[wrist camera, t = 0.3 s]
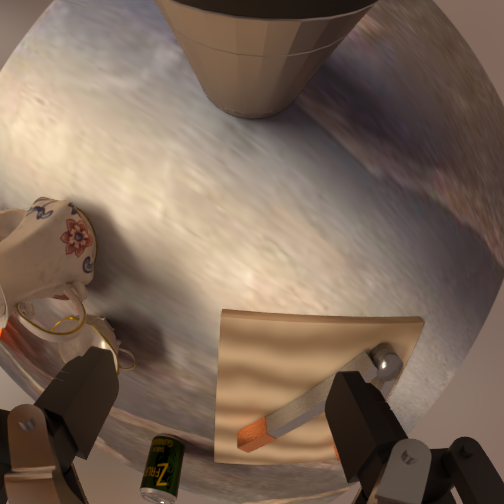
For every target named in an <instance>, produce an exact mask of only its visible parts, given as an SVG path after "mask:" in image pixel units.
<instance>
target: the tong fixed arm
mask: <svg viewBox="0 0 504 504" xmlns="http://www.w3.org/2000/svg"><path fill="white" fill-rule="evenodd" d="M396 382H397V379H396V377H395V378H393V379H391V380H389V381H381V380H379V378H378V376H376V377H374V378H373V379H372V380H371V381H370V383H371V384H372V385H374V386H375V387H376V388H377V389H379V390H380V392H381V393H382V395H383V396H384V398H385V400H387V398H388V396H389V394H390V393H391V391H392V389H393V387H394V385H395V383H396ZM333 448H334V451H335V454H336V458H337V461H340V458H339V455H338V452H337V449H336V446H334V447H333Z"/></svg>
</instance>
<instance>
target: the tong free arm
mask: <svg viewBox="0 0 504 504" xmlns="http://www.w3.org/2000/svg"><path fill="white" fill-rule="evenodd" d="M402 368H403V361H402V360H401V359H400V357H399V356H398V355H397V353H396V352H395V350H394V349H393V348H392V346H391V345H390V344H388V343H382V344H379V345H377V346H376V347H374V348H373V349H372V350H371V352H370V353H369V354H368V353H367V352H366V351H365V350H364V351H363V352H362V353H360V354H359V355H358V356H357V357H355V358H354V359H353V360H352V361H350V362H349V363H348V364H346V365H345V366H344V367H342V368H341V369H340V370H338V371H337V372H339V371H359V372H360V374H361V375H362V377H363V379H364V381H365V382H366V383H368V382H369V381H370V380H372V379H373V378H374V377H376V376H378V378H379V380H381V381H389V380H391V379H393V378H395V377H396V376H397V375H398V374H399V373H400V372H401V370H402ZM337 372H335V373H334V374H333V375H331V376H330V377H328V378H327V379H326V380H324V381H323V382H321V383H320V384H318V385H317V386H315V387H314V388H312V389H311V390H309V391H308V392H306V393H305V394H303V395H302V396H300V397H299V398H297V399H295V400H294V401H292V402H291V403H289V404H287V405H286V406H284V407H282V408H281V409H279V410H277V411H276V412H274V413H272V414H270V415H269V416H267V417H263V418H261V419H259V420H258V421H256V422H254V423H252V424H250V425H248V426H246V427H245V428H243V429H241V430H239V431H237V448H238V449H240V450H242V451H244V452H247V453H249V452H252V451H254V450H256V449H258V448H261V447H263V446H265V445H267V444H269V443H271V442H273V441H275V440H277V438H279V437H281V436H283V435H285V434H287V433H288V432H290V431H292V430H294V429H296V428H298V427H300V426H301V425H303V424H305V423H307V422H308V421H310V420H312V419H313V418H315V417H317V416H318V415H320V414H322V413H323V412H325V402H326V399H327V396H328V394H329V391H330V388H331V385H332V383H333V380H334V377H335V375H336V373H337Z"/></svg>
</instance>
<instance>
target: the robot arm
mask: <svg viewBox="0 0 504 504" xmlns="http://www.w3.org/2000/svg"><path fill="white" fill-rule="evenodd" d="M154 1H155V3H156V4H157V6H158V8H159V10H160V11H161V13H162V15H163V17H164V18H165V20H166V21H167V23H168V25H169V27H170V28H171V30H172V32H173V34H174V36H175V38H176V39H177V41H178V43H179V45H180V47H181V49H182V50H183V52H184V54H185V56H186V58H187V60H188V62H189V63H190V65H191V67H192V69H193V71H194V73H195V75H196V77H197V79H198V81H199V82H200V84H201V86H202V88H203V90H204V92H205V93H206V95H207V97H208V98H209V100H210V101H211V102H212V103H213V104H214V105H215V106H216V107H218V108H219V109H221V110H222V111H224V112H226V113H228V114H231V115H233V116H236V117H242V118H263V117H268V116H271V115H274V114H276V113H279V112H280V111H282V110H283V109H285V108H287V107H288V106H289V105H290V104H291V103H292V102H293V101H294V100H295V98H296V97H297V96H298V95H299V93H300V92H301V91H302V90H303V88H304V87H305V86H306V85H307V83H308V82H309V81H310V80H311V78H312V77H313V76H314V75H315V73H316V72H317V71H318V70H319V68H320V67H321V66H322V65H323V63H324V62H325V61H326V60H327V59H328V57H329V56H330V55H331V54H332V52H333V51H334V50H335V49H336V48H337V47H338V45H339V44H340V43H341V42H342V41H343V39H344V38H345V37H346V36H347V35H348V34H349V33H350V31H351V30H352V29H353V28H354V27H355V25H356V24H357V23H358V22H359V21H360V20H361V18H362V17H363V16H364V15H365V14H366V13H367V12H368V11H369V10H370V9H371V8H372V6H373V5H374V4H375V3H376V2H377V1H378V0H154ZM118 390H119V382H118V377H117V372H116V367H115V362H114V357H113V353H112V351H111V350H108V349H104V348H99V347H95V346H91V347H90V348H89V349H88V350H87V351H86V353H85V354H84V355H83V356H77V357H75V358H74V359H72V360H70V361H68V362H67V363H66V365H65V366H64V367H63V368H62V369H61V372H59V373H58V374H57V376H56V377H55V379H53V380H52V382H51V383H50V384H49V385H48V387H47V388H46V389H45V391H44V392H43V393H42V394H41V396H40V397H39V398H38V400H37V401H36V402H35V403H34V405H31V404H22V405H19V406H17V407H15V408H13V409H12V410H11V411H7V410H2V409H0V504H6V502H7V500H8V502H9V504H89V503H88V501H87V498H86V496H85V494H84V491H83V489H82V486H81V483H80V481H79V478H78V476H77V473H76V470H75V467H74V464H73V459H74V458H75V456H78V457H80V458H83V459H85V460H87V458H88V455H89V453H90V451H91V449H92V447H93V445H94V443H95V440H96V438H97V436H98V434H99V432H100V430H101V428H102V426H103V424H104V422H105V420H106V418H107V416H108V414H109V412H110V410H111V408H112V406H113V404H114V402H115V400H116V398H117V395H118ZM325 416H326V419H327V422H328V425H329V428H330V431H331V434H332V437H333V440H334V443H335V446H336V449H337V452H338V455H339V458H340V461H341V464H342V467H343V470H344V473H345V476H346V479H347V482H348V483H352V482H357V481H360V483H361V487H360V489H359V490H358V492H357V494H356V496H355V498H354V500H353V502H352V504H456V501H455V499H454V497H453V495H452V493H451V491H450V490H451V489H452V488H453V487H454V486H455V487H456V490H457V492H458V494H459V496H460V498H461V500H462V502H463V504H504V483H503V481H502V479H501V477H500V476H499V474H498V473H497V471H496V469H495V468H494V466H493V464H492V463H491V461H490V459H489V458H488V456H487V455H486V453H485V452H484V450H483V449H482V447H481V446H480V444H479V443H478V442H477V441H476V440H474V439H472V438H470V437H460V438H458V439H456V440H455V441H454V442H453V443H452V445H451V446H450V447H449V448H443V449H429V448H428V446H427V445H425V444H424V443H423V442H421V441H419V440H416V439H409V438H408V437H407V435H406V433H405V432H404V430H403V428H402V427H401V425H400V423H399V421H398V420H397V418H396V416H395V415H394V413H393V411H392V410H390V406H389V405H388V403H387V402H386V400H385V398H384V396H383V395H382V393H381V392H380V390H379V389H377V388H376V387H375V386H374V385H372V384H371V383H366V382H365V381H364V379H363V377H362V375H361V374H360V372H359V371H339V372H337V373H336V375H335V377H334V380H333V383H332V385H331V388H330V391H329V394H328V396H327V399H326V402H325Z"/></svg>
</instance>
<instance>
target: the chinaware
mask: <svg viewBox="0 0 504 504" xmlns="http://www.w3.org/2000/svg"><path fill="white" fill-rule="evenodd" d="M96 256H97V240H96V235H95V232H94V229H93V227H92V224H91V222H90V221H89V219H88V218H87V216H86V215H85V214H84V213H83V212H82V211H81V210H80V209H78V208H77V207H75V206H74V204H73V203H71V202H69V201H59V200H53V199H49V198H46V197H40V198H38V199H37V200H36V201H35V202H34V203H33V204H32V206H31V207H30V209H29V211H25V210H20V209H7V210H3V211H0V330H1V329H2V328H5V327H6V324H7V321H8V319H9V317H10V316H11V315H12V313H13V312H14V311H15V313H16V316H17V318H18V319H19V321H20V322H21V323H22V324H23V325H24V326H25V327H26V328H27V329H28V330H29V331H31V332H32V333H33V334H35V335H36V336H38V337H40V338H42V339H44V340H47V341H51V342H56V343H57V344H59V345H58V350H59V355H60V357H61V359H62V361H63V363H64V364H66V363H67V362H68V361H70V360H72V359H74V358H75V357H77V356H83V355H84V354H85V353H86V351H87V350H88V349H89V348H90V347H91V346H95V347H99V348H104V349H108V350H111V351H112V353H113V357H114V362H115V367H116V372H117V375H119V373H120V370H122V371H126V372H127V371H131V370H133V369H134V368H135V366H136V363H137V361H136V357H135V356H134V354H133V353H131V352H130V351H128V350H124V349H121V348H120V347H119V345H120V344H121V341H120V340H117V339H116V336H115V334H114V332H113V331H114V330H115V329H113V328H112V327H111V326H110V324H109V323H108V322H107V321H106V317H104V318H99V317H96V316H93V315H88V314H86V311H85V308H84V306H83V304H82V302H83V300H85V299H86V298H87V291H86V287H85V285H87V284H88V283H90V282H91V281H92V279H93V275H94V268H93V265H94V263H95V260H96ZM43 297H49V298H55V299H60V300H69V299H70V300H71V301H72V302H73V304H74V305H75V307H76V308H77V310H78V313H79V315H77V316H74V315H71V316H69V317H65V318H63V319H62V320H61V321H59V322H58V323H56V324H55V325H54V327H53V328H52V330H51V331H49V330H46V329H44V328H42V327H40V326H38V325H36V324H35V323H33V322H32V321H30V319H31V318H32V317H33V316H34V315H35V309H34V307H33V305H32V304H31V303H26V302H28V301H30V300H34V299H38V298H43ZM25 303H26V304H25ZM21 308H22V309H24V312H23V314H22V313H21V312H20V309H21ZM118 350H120V351H122V352H125V353H128V354H129V355H130V356H131V357H132V358H133V360H134V365H133V366H132V367H130V368H122V363H120V364H119V362H118V358H117V356H118Z"/></svg>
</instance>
